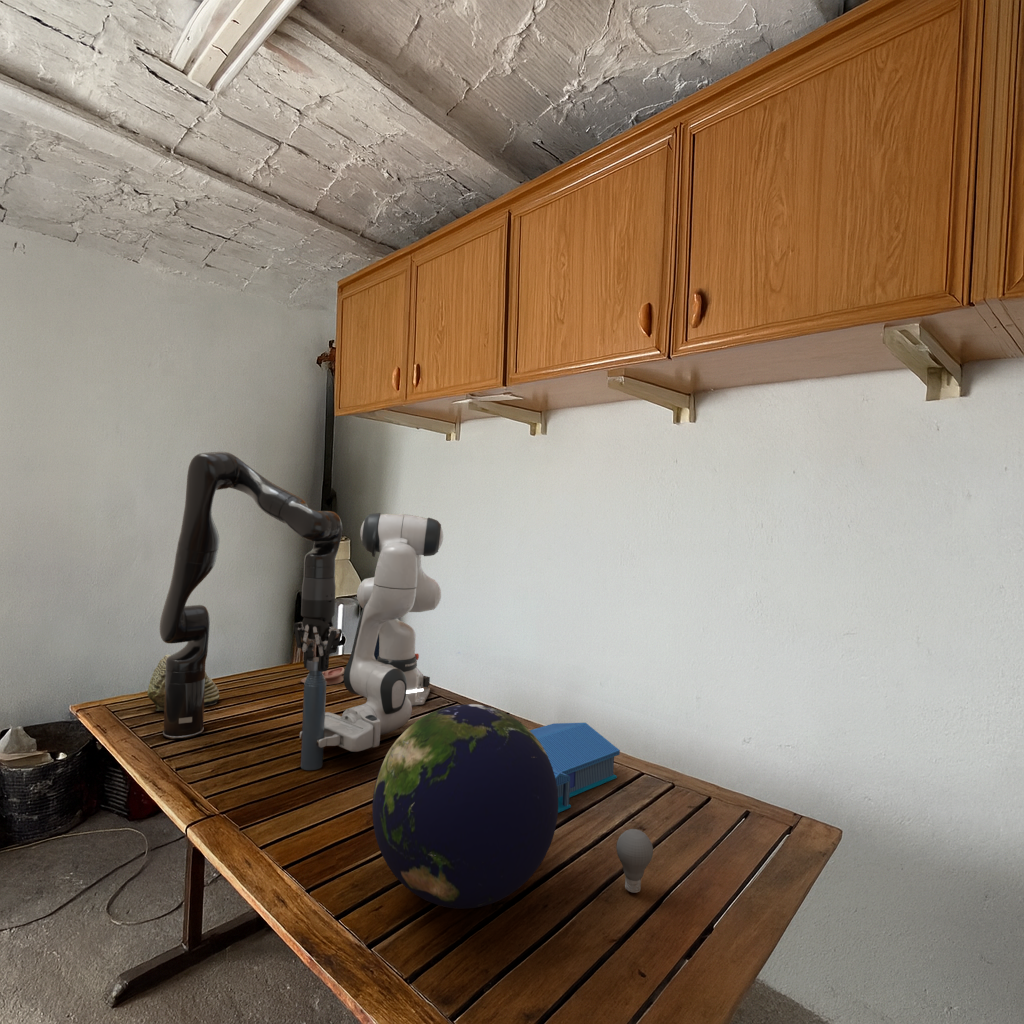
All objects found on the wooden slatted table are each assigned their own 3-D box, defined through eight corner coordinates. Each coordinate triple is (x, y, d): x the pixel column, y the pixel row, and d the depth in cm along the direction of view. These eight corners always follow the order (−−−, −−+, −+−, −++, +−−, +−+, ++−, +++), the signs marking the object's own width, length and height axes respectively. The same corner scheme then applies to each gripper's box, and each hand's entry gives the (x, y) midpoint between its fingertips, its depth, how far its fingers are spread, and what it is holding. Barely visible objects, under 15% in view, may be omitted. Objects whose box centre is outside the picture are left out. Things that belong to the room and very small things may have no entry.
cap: (316, 665, 151) (317, 656, 151) (329, 668, 149) (329, 659, 149) (302, 668, 148) (302, 659, 148) (315, 672, 145) (315, 662, 145)
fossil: (144, 707, 182) (145, 655, 182) (212, 696, 194) (213, 647, 194) (151, 716, 175) (153, 662, 175) (221, 703, 188) (223, 653, 188)
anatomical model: (296, 671, 211) (313, 663, 222) (295, 683, 211) (313, 674, 222) (332, 675, 208) (348, 666, 219) (332, 687, 208) (348, 678, 219)
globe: (328, 919, 95) (336, 721, 95) (427, 827, 123) (434, 674, 122) (512, 985, 84) (522, 760, 83) (576, 867, 112) (584, 698, 111)
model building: (501, 837, 120) (504, 785, 120) (427, 790, 139) (429, 744, 138) (628, 782, 147) (630, 739, 147) (552, 748, 165) (553, 710, 165)
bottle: (300, 771, 145) (304, 665, 145) (300, 762, 150) (305, 659, 150) (322, 769, 147) (327, 664, 147) (322, 760, 152) (327, 659, 151)
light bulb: (610, 879, 108) (613, 822, 108) (644, 879, 109) (647, 822, 109) (619, 902, 102) (622, 840, 102) (655, 901, 103) (658, 840, 103)
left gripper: (284, 594, 148) (281, 667, 148) (328, 601, 141) (325, 678, 141) (309, 591, 155) (306, 661, 155) (352, 598, 148) (349, 671, 148)
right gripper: (331, 702, 165) (284, 715, 154) (384, 722, 153) (337, 737, 142) (330, 726, 165) (283, 741, 154) (383, 747, 153) (336, 765, 142)
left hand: (315, 668), depth 148 cm, fingers closed on cap, 4 cm apart
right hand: (309, 739), depth 148 cm, fingers closed on bottle, 5 cm apart
